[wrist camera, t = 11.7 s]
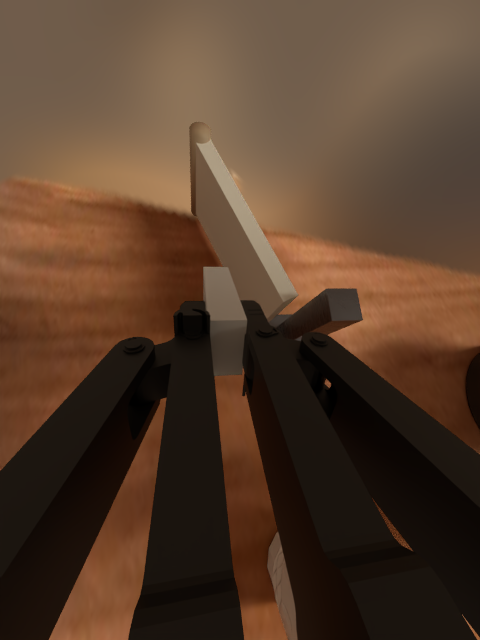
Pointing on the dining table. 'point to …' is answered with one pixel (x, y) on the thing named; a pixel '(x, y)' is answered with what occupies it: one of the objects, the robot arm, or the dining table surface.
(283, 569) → the white cup
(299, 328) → the gate post
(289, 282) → the gate panel
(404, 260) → the dining table surface
